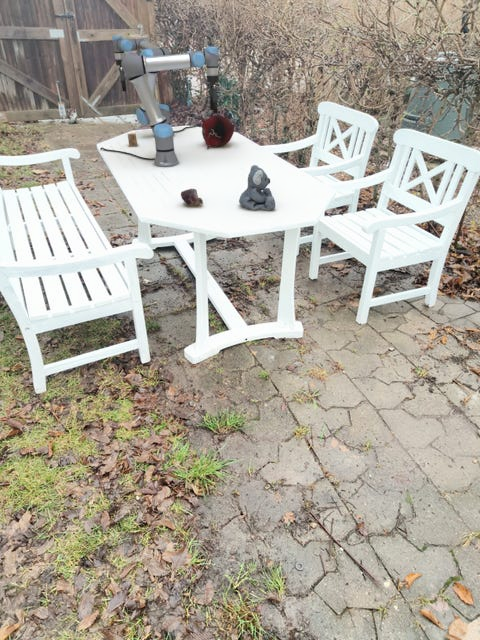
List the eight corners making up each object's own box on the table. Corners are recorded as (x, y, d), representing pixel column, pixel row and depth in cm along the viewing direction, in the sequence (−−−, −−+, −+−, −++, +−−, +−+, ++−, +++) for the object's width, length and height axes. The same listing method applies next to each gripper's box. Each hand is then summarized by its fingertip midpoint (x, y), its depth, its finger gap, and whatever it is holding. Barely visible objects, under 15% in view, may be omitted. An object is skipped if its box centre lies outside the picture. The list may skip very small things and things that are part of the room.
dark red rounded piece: (199, 121, 337) (198, 117, 314) (230, 114, 337) (230, 110, 313) (206, 150, 344) (205, 149, 321) (236, 143, 343) (237, 142, 320)
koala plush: (276, 211, 223) (277, 171, 212) (240, 212, 222) (240, 172, 211) (271, 199, 237) (272, 161, 226) (237, 200, 236) (237, 162, 225)
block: (129, 146, 333) (127, 135, 328) (129, 145, 337) (127, 133, 332) (137, 146, 333) (135, 134, 329) (137, 144, 337) (135, 133, 333)
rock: (196, 202, 238) (178, 205, 233) (194, 185, 234) (176, 188, 230) (205, 205, 228) (187, 208, 224) (203, 188, 224) (185, 191, 220)
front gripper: (221, 77, 273) (222, 115, 285) (215, 72, 294) (216, 108, 306) (209, 77, 272) (210, 115, 284) (204, 73, 292) (205, 108, 305)
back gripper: (125, 60, 336) (129, 92, 348) (125, 57, 356) (129, 87, 368) (114, 61, 334) (119, 92, 346) (115, 57, 354) (119, 87, 366)
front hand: (213, 111), depth 295 cm, fingers open, 13 cm apart
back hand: (124, 90), depth 357 cm, fingers open, 13 cm apart
